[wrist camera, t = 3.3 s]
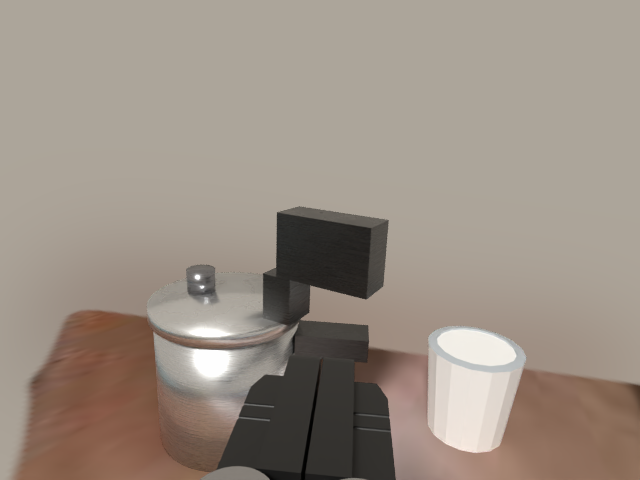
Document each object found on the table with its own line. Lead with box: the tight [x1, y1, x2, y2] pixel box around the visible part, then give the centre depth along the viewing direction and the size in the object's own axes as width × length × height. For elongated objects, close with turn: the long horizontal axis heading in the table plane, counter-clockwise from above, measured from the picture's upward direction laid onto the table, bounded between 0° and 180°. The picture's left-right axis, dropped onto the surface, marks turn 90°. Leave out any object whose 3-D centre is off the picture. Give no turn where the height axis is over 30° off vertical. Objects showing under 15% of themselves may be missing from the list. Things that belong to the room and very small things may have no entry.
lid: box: [147, 207, 388, 348], centre depth 29 cm, size 16×11×8 cm, turn 60°
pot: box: [154, 320, 369, 472], centre depth 32 cm, size 15×10×9 cm, turn 85°
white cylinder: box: [427, 326, 526, 453], centre depth 33 cm, size 7×7×7 cm
